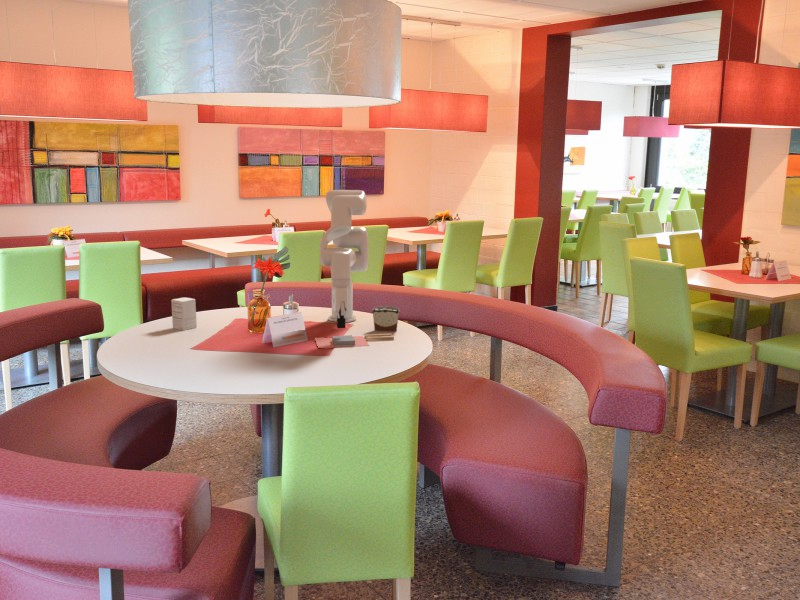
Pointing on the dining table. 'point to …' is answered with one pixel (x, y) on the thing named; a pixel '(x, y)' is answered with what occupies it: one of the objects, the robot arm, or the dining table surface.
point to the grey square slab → (343, 340)
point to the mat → (329, 344)
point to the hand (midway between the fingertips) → (341, 327)
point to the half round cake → (385, 318)
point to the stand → (379, 337)
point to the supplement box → (184, 313)
